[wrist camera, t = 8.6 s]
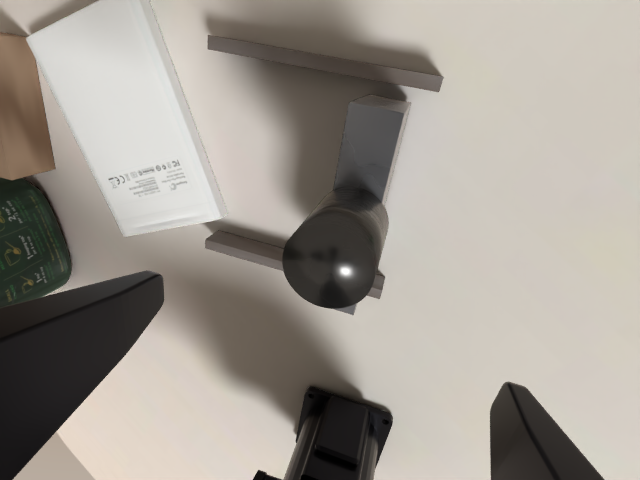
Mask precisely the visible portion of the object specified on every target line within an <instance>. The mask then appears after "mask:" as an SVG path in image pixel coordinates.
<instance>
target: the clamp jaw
mask: <svg viewBox="0 0 640 480" xmlns="http://www.w3.org/2000/svg"><path fill="white" fill-rule="evenodd" d="M410 106H411V102H406V101H400V100H395V99H390V98H385V97H380V96H375V95H367V96H365V97H362V98H359V99H356V100H354V101H351V102H349V106H348V111H347V117H346V122H345V128H344V133H343V138H342V144H341V149H340V155H339V160H338V166H337V171H336V177H335V182H334V188H333V191H332V192H330V193H329V194H328V195H326V196H325V197H324V199H323V200H322V201H321V202H320V203H319V204H318V206H317V207H316V208H315V209H314V210H313V212H312V213H311V214H310V215H309V216H308V217H307V219H306V220H305V221H304V222H303V223H302V224H301V226H300V227H299V228H298V229H297V230H296V232H295V233H294V234H293V235H292V236H291V237H290V239H289V240H288V242H287V243H286V245H285V248H284V251H283V255H282V265H283V270H284V274H285V276H286V278H287V280H288V282H289V284H290V285H291V287H292V288H293V289H294V290H295V291H296V292H297V293H298V294H299V295H300V296H301V297H302V298H304V299H305V300H307V301H308V302H310V303H312V304H315V305H317V306H320V307H324V308H331V309H335V310H338V311H342V312H345V313H348V314H352V315H354V312H355V309H356V306H357V303H358V302H359V301H361V300H362V299H363V298H364V297H365V296H366V295H367V294H368V293H369V291H370V290H371V288H372V286H373V283H374V279H375V276H376V272H377V268H378V265H379V261H380V257H381V254H382V250H383V246H384V243H385V239H386V235H387V232H388V225H389V221H388V215H387V212H386V209H385V203H386V199H387V195H388V191H389V187H390V183H391V179H392V176H393V172H394V168H395V164H396V160H397V156H398V152H399V148H400V144H401V141H402V137H403V133H404V129H405V125H406V121H407V117H408V113H409V110H410Z"/></svg>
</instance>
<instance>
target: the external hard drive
mask: <svg viewBox="0 0 640 480" xmlns="http://www.w3.org/2000/svg"><path fill="white" fill-rule="evenodd" d="M26 40H27V43H28V45H29V47H30V49H31V51H32V53H33V55H34V57H35V59H36V61H37V63H38V65H39V67H40V69H41V71H42V73H43V75H44V77H45V79H46V81H47V83H48V85H49V87H50V89H51V91H52V93H53V95H54V97H55V99H56V101H57V103H58V105H59V107H60V109H61V111H62V113H63V115H64V117H65V119H66V121H67V123H68V125H69V127H70V129H71V131H72V133H73V135H74V138H75V140H76V142H77V144H78V146H79V148H80V150H81V152H82V154H83V156H84V158H85V160H86V162H87V164H88V166H89V168H90V170H91V172H92V174H93V176H94V178H95V180H96V182H97V184H98V186H99V188H100V190H101V192H102V194H103V196H104V198H105V200H106V202H107V204H108V206H109V208H110V210H111V212H112V214H113V216H114V218H115V220H116V222H117V225H118V226H119V228H120V231H121V233H122V234H123V236H124V237H128V236H133V235H139V234H144V233H149V232H155V231H160V230H165V229H171V228H177V227H182V226H188V225H193V224H198V223H204V222H210V221H215V220H218V219H221V218H223V217H224V216H226V215H227V214H228V211H227V209H226V206H225V203H224V201H223V198H222V195H221V193H220V190H219V187H218V185H217V182H216V179H215V176H214V174H213V171H212V168H211V165H210V163H209V160H208V157H207V155H206V152H205V149H204V146H203V144H202V141H201V138H200V135H199V133H198V130H197V127H196V125H195V122H194V119H193V117H192V114H191V111H190V108H189V106H188V103H187V100H186V98H185V95H184V92H183V90H182V87H181V84H180V81H179V79H178V76H177V73H176V71H175V68H174V65H173V62H172V59H171V57H170V54H169V51H168V49H167V46H166V43H165V41H164V38H163V35H162V33H161V30H160V27H159V24H158V22H157V19H156V16H155V13H154V11H153V8H152V5H151V3H150V0H98V1H96V2H94V3H92V4H90V5H88V6H86V7H84V8H82V9H80V10H78V11H76V12H75V13H72V14H71V15H69V16H67V17H64V18H62V19H60V20H58V21H57V22H55V23H53V24H51V25H48V26H47V27H45V28H43V29H41V30H39V31H37V32H35V33H33V34H31V35H30V36H28V37H27V38H26Z"/></svg>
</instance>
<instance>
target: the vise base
mask: <svg viewBox="0 0 640 480" xmlns="http://www.w3.org/2000/svg"><path fill="white" fill-rule="evenodd" d="M26 38H27V37H23V36H18V35H13V34H8V33H2V32H0V177H1V178H5V179H8V180H15V179H19V178H23V177H27V176H30V175H34V174H38V173H42V172H46V171H50V170H54V169H55V164H54V159H53V153H52V148H51V143H50V137H49V132H48V126H47V121H46V115H45V110H44V105H43V99H42V94H41V88H40V83H39V78H38V72H37V67H36V61H35V57H34V55H33V53H32V51H31V49H30V47H29V45H28V43H27V40H26ZM208 49H209V50H215V51H220V52H225V53H231V54H236V55H241V56H247V57H252V58H258V59H263V60H268V61H274V62H279V63H285V64H290V65H295V66H301V67H306V68H311V69H317V70H322V71H328V72H333V73H338V74H344V75H349V76H354V77H360V78H365V79H371V80H376V81H381V82H387V83H392V84H398V85H403V86H408V87H414V88H419V89H424V90H430V91H435V92H439V91H440V87H441V84H442V80H443V77H442V76H436V75H431V74H425V73H419V72H414V71H408V70H402V69H397V68H391V67H386V66H380V65H374V64H369V63H363V62H358V61H352V60H346V59H341V58H335V57H329V56H324V55H318V54H313V53H307V52H301V51H296V50H290V49H285V48H279V47H273V46H268V45H262V44H256V43H251V42H245V41H240V40H234V39H228V38H223V37H217V36H211V35H208ZM205 248H206V249H210V250H213V251H217V252H220V253H224V254H227V255H230V256H234V257H237V258H241V259H244V260H248V261H251V262H254V263H258V264H261V265H265V266H268V267H272V268H275V269H278V270H282V271H284V270H283V265H282V255H283V251H284V249H283V248H280V247H276V246H272V245H269V244H265V243H262V242H258V241H255V240H251V239H248V238H244V237H240V236H237V235H233V234H230V233H226V232H223V231H219V230H218V231H216V232H215V233H214V234H212V235H211V236H210V237H208V238H207V239H206V240H205ZM384 280H385V277H383V276H379V275H376V276H375V279H374V283H373V286H372V288H371V290H370V291H369V293H368V294H367V296H371V297H374V298H378V299H380V296H381V293H382V289H383V284H384Z"/></svg>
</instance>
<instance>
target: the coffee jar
mask: <svg viewBox="0 0 640 480" xmlns="http://www.w3.org/2000/svg"><path fill="white" fill-rule="evenodd" d="M70 275H71V262H70V257H69V254H68V250H67V247H66V244H65V241H64V238H63V236H62V233H61V230H60V228H59V225H58V223H57V220H56V218H55V216H54V214H53V211H52V209H51V207H50V205H49V203H48V201H47V200H46V198H45V196H44V195H43V194H42V193H41V191H40V190H39V189H37V188H36V187H35V186H33V185H32V184H30V183H29V182H28V181H26V180H25V179H23V178H19V179H15V180H8V179H5V178H1V177H0V308H1V307H5V306H9V305H13V304H17V303H21V302H25V301H29V300H33V299H37V298H41V297H43V296H45V295H47V294H49V293H51V292H53V291H55V290H56V289H58V288H60V287H62V286H63V285H64V284H66V282H67V281H68V279H69V277H70Z"/></svg>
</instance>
